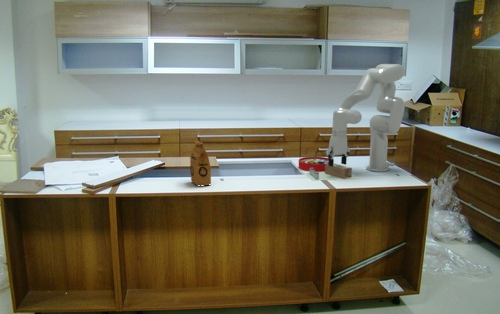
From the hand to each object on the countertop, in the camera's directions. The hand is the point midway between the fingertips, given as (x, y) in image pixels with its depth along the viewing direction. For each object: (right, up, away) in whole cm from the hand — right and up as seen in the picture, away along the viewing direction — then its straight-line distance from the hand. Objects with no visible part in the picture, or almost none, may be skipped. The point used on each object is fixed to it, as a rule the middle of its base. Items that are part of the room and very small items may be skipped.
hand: (337, 165), depth 248 cm
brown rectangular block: (+1, -6, +2) cm, 6 cm away
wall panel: (-3, -7, +1) cm, 8 cm away
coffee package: (-72, -10, -10) cm, 74 cm away
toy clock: (-9, -3, +19) cm, 22 cm away
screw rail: (-13, -6, -1) cm, 14 cm away
